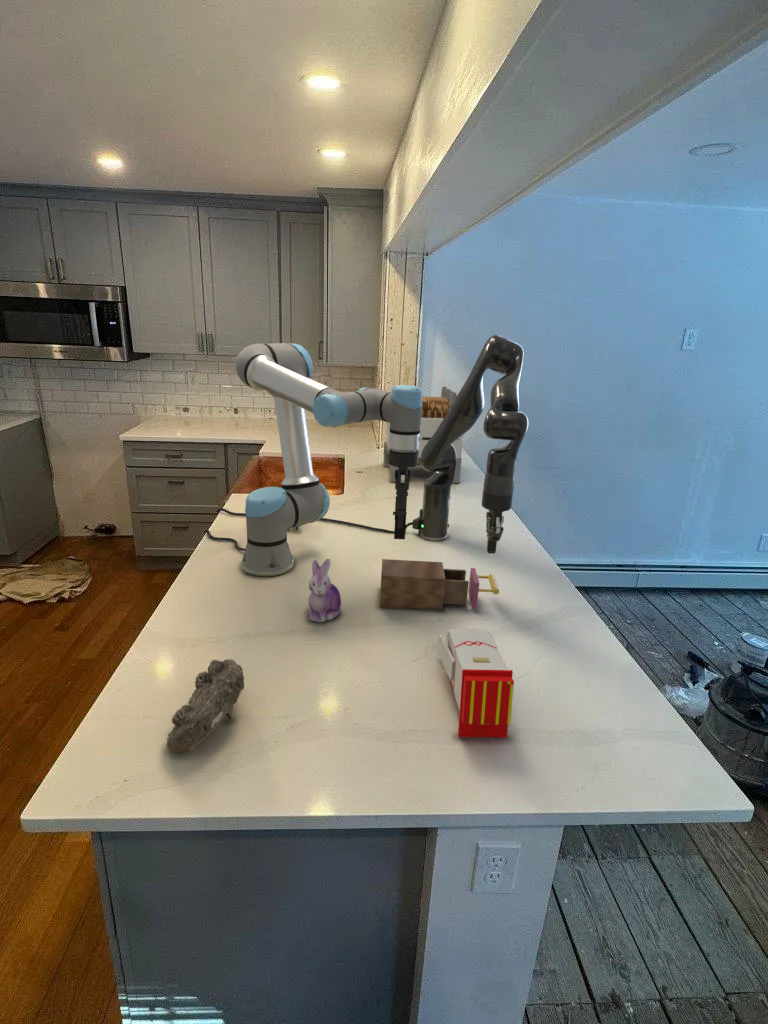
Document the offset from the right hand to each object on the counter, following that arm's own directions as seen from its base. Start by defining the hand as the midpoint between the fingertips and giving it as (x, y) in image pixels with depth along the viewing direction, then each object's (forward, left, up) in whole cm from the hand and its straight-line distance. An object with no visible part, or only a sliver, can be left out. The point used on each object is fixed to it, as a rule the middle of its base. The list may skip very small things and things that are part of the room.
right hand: (490, 552), depth 150 cm
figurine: (-30, -32, -15) cm, 47 cm away
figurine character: (-79, +8, -15) cm, 81 cm away
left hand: (-20, -14, +5) cm, 25 cm away
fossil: (-21, -75, -15) cm, 79 cm away
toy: (+14, -37, -15) cm, 42 cm away
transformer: (-83, +98, -15) cm, 129 cm away
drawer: (-7, -4, -14) cm, 16 cm away
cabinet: (-17, -11, -15) cm, 25 cm away
